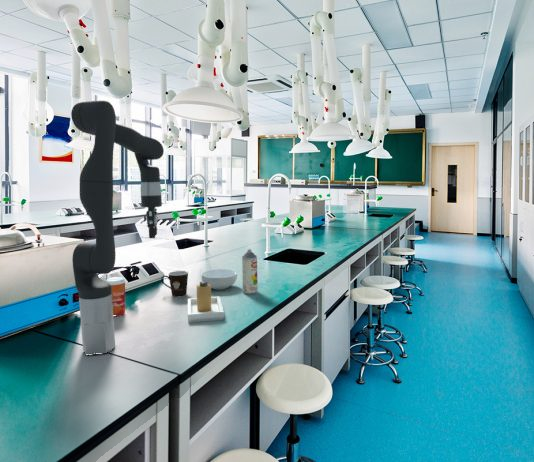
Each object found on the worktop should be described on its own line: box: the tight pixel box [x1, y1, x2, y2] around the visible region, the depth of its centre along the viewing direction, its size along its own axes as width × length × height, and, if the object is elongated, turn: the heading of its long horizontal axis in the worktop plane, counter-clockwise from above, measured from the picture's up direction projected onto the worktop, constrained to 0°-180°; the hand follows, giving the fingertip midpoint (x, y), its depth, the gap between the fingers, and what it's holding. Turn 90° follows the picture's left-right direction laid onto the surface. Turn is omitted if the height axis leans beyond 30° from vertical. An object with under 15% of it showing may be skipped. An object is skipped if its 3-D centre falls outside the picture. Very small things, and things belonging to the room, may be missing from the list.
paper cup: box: [105, 276, 127, 316], centre depth 154 cm, size 8×8×14 cm
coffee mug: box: [160, 270, 189, 298], centre depth 180 cm, size 12×9×10 cm
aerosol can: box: [241, 248, 259, 296], centre depth 181 cm, size 7×7×20 cm
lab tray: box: [187, 296, 225, 323], centre depth 156 cm, size 20×13×3 cm, turn 11°
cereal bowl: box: [201, 268, 238, 291], centre depth 191 cm, size 17×17×7 cm
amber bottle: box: [196, 281, 212, 312], centre depth 155 cm, size 6×6×11 cm
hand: (153, 236), depth 153 cm, fingers open, 8 cm apart
